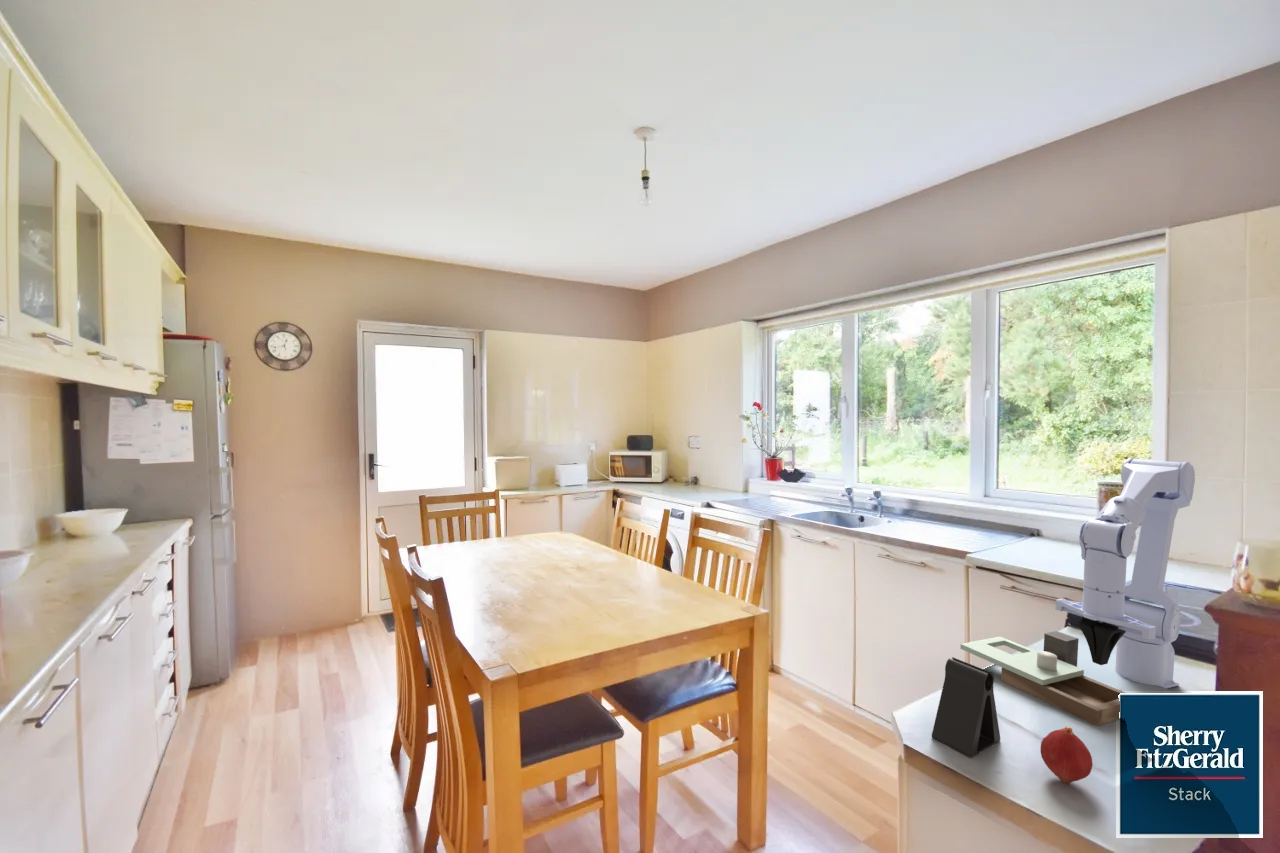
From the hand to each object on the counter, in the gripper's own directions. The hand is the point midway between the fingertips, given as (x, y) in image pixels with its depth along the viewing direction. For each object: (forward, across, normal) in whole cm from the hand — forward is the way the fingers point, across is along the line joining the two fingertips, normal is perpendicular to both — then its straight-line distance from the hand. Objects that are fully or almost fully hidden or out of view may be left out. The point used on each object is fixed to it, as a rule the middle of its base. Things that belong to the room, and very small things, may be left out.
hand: (1100, 662), depth 99 cm
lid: (+4, -12, -4) cm, 13 cm away
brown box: (+8, -3, -4) cm, 9 cm away
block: (+8, -10, +6) cm, 14 cm away
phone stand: (+8, -1, -33) cm, 34 cm away
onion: (+8, +11, -29) cm, 32 cm away
